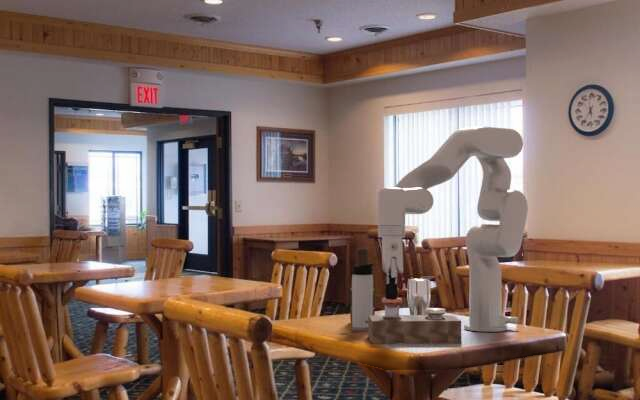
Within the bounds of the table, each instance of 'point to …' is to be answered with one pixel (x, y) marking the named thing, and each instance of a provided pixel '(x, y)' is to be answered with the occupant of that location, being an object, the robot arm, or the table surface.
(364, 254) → the beer bottle
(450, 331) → the socket board
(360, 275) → the travel mug
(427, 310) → the plug cream
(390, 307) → the plug terracotta
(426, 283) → the beer glass
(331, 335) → the table surface
